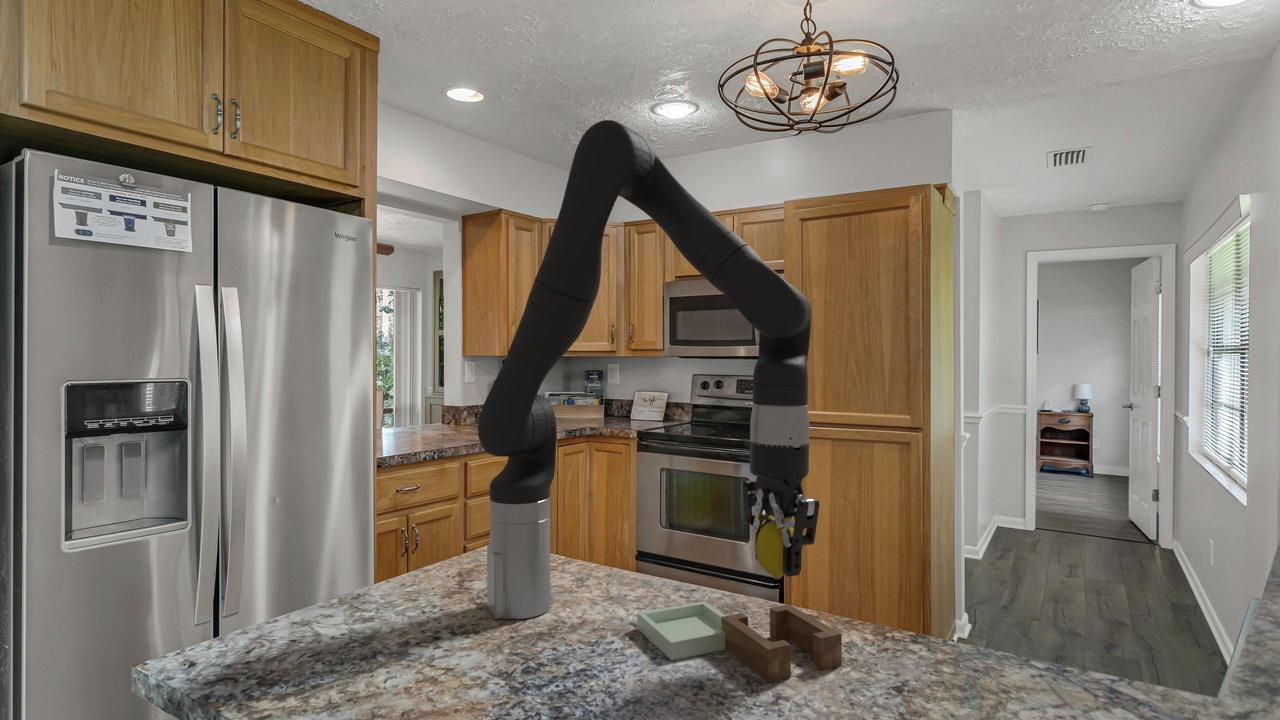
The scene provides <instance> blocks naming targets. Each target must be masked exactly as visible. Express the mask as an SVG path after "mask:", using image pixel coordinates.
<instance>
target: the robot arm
mask: <svg viewBox="0 0 1280 720" xmlns="http://www.w3.org/2000/svg"><path fill="white" fill-rule="evenodd" d="M567 179H568V180H567V183H566V188H565V191H564V194H563V199H562V202H561V206H560V209H559V213H558V216H557V218H556V221H555V223H554V227H553V230H552V233H551V235H550V238H549V240H548V244H547V247H546V250H545V252H544V255H543V259H542V261H541V264H540V266H539V268H538V271H537V273H536V276H535V278H534V281H533V284H532V286H531V289H530V292H529V295H528V297H527V301H526V304H525V307H524V311H523V313H522V316H521V319H520V321H519V323H518V326H517V329H516V331H515V334H514V337H513V339H512V341H511V344H510V347H509V349H508V353H507V355H506V357H505V359H504V361H503V363H502V365H501V368H500V370H499V372H498V374H497V377H495V381H494V382H493V384H492V387H491V388H490V390H489V392H488V394H487V396H486V397H485V400H484V402H483V405H482V407H481V410H480V412H479V416H478V422H477V435H478V440H479V443H480V445H481V447H482V448H483V450H484V451H485V452H486V453H488V454H489V455H491V456H494V457H500V458H501V457H502V458H503V457H504V458H505V457H507V458H508V459H507V461H506V464H505V465H504V468H503V469H502V470H501V471H500V472H499V473H498V474H497V475H496V476H495V477H493V479H492V480H491V481H490V484H489V544H488V545H487V547H486V588H487V589H486V598H487V599H486V601H487V602H486V603H487V604H486V605H487V608H488V609H489V611H490V613H491V615H492V617H493V619H495V620H500V619H507V620H508V619H509V620H521V619H529V618H530V619H531V618H534V617H537V616H540V615H543V614H545V613H547V611H549V610H550V609H551V596H552V592H551V486H552V483H553V481H554V477H555V473H556V460H557V459H556V458H557V433H558V431H557V429H558V428H557V418H556V414H555V411H554V408H553V406H552V404H551V403H550V401H549V400H548V399H547V398H546V397H544V396H543V395H540V394H538V393H539V391H540V388H541V386H542V384H543V382H544V381H545V378H546V377H547V376H548V375H549V373H550V371H551V370H552V369H553V368H554V367H555V365H556V364H557V363H558V362H559V360H561V358H562V357H564V355H565V354H566V353H567V352H568V351H569V350H570V348H572V346H573V344H574V343H575V342H577V340H578V338H579V337H580V336H581V334H582V332H583V330H584V328H585V327H586V324H587V323H588V321H589V320H588V319H589V317H590V314H591V312H592V309H593V307H594V304H595V302H596V299H597V297H598V293H599V290H600V284H601V276H602V254H603V253H602V252H603V251H602V250H603V240H604V234H605V230H606V226H607V223H608V221H609V218H610V216H611V213H612V211H613V209H614V206H615V203H616V201H617V199H618V198H619V197H620V198H622V199H625V200H626V201H628V202H629V203H630V204H632V205H633V206H635V207H636V208H638V209H640V210H641V211H642V212H643V213H645V214H646V215H647V216H648V217H650V218H651V219H652V220H653V221H654V222H655V223H656V224H657V225H658V226H659V227H660V228H661V229H662V230H663V231H664V233H665V234H666V235H667V237H668V238H669V239H670V241H671V242H672V244H674V246H675V248H676V249H677V251H678V252H679V253H680V254H681V255H682V256H683V258H685V260H686V261H687V262H688V263H689V264H690V265H691V266H692V267H693V268H694V269H695V270H696V271H697V272H698V273H700V274H701V275H702V277H704V278H705V279H706V280H707V282H709V283H710V284H711V285H712V286H713V287H714V288H715V289H717V290H718V291H719V292H720V293H721V294H723V295H724V296H726V298H727V299H728V300H729V301H730V303H732V305H733V306H734V307H735V308H736V310H738V312H739V313H740V314H741V315H742V316H743V317H744V319H745V320H746V321H748V323H749V324H750V325H751V326H753V328H755V329H756V330H757V331H758V334H759V335H758V358H757V361H756V364H755V366H754V370H753V377H752V378H753V379H752V383H753V384H752V409H751V415H750V429H749V430H750V433H749V435H750V436H749V438H750V439H749V471H750V473H751V474H752V475H753V476H755V477H756V479H752V480H749V479H748V480H743V482H742V494H743V508H744V519H745V520H744V521H745V524H746V525H748V526H751V527H752V531H753V533H754V534H755V540H754V541H755V542H754V543H755V544H754V545H755V547H754V550H755V551H754V552H755V559H756V561H758V559H757V554H756V544H757V538H758V535H759V532H760V530H761V528H762V527H763V526H764V525H765V524H767V523H768V522H770V521H774V520H776V524H777V527H778V528H779V529H780V530H781V532H782V537H783V541H784V545H785V546H783V574H784V575H783V576H786V577H795V576H796V577H797V576H800V574H801V571H802V556H803V554H802V552H803V551H802V549H803V547H804V546H807V545H814V544H815V539H816V533H817V526H818V517H819V511H820V501H819V499H818V498H816V497H815V498H809V497H808V496H806V495H805V492H804V490H803V484H802V481H803V480H804V478H805V477H807V476H808V475H809V470H810V468H809V465H810V463H809V461H810V459H809V458H810V418H809V416H810V415H809V407H808V406H809V405H808V404H809V403H808V398H809V397H808V394H809V389H808V388H809V375H808V374H809V373H808V357H809V351H810V342H811V341H810V340H811V330H812V308H811V305H810V301H809V300H808V299H807V298H806V296H805V295H804V294H803V293H802V292H801V291H800V290H798V289H797V288H795V287H794V286H793V285H792V284H791V283H790V282H788V281H787V280H785V279H784V277H782V276H781V275H780V274H778V273H777V272H776V271H775V270H774V269H772V268H771V267H770V266H769V265H767V264H766V263H765V262H764V261H763V260H762V259H761V257H760V256H759V255H758V253H757V252H756V251H755V250H754V249H753V247H751V246H750V245H749V244H748V243H747V242H745V240H744V239H742V238H741V237H740V236H739V235H738V234H737V233H736V232H734V230H733V229H732V228H730V227H729V226H728V225H727V224H726V223H724V222H723V221H722V220H721V219H719V218H718V217H717V216H716V215H715V214H714V213H713V212H711V211H710V209H708V208H707V207H705V206H704V205H703V204H702V203H701V202H700V201H699V200H697V199H696V198H695V197H694V196H693V195H692V194H691V193H690V192H689V191H688V190H687V189H686V188H685V187H684V186H683V185H682V184H681V183H680V182H679V181H678V179H676V177H675V176H674V175H673V174H672V173H671V171H670V170H669V168H667V166H666V165H665V163H664V162H663V161H662V160H661V158H660V157H659V155H657V153H656V151H655V150H654V149H653V147H652V146H651V145H650V144H649V142H648V140H647V139H646V138H645V137H644V136H643V135H641V134H640V133H638V132H637V131H634V130H633V129H631V128H629V127H628V126H627V125H624V124H623V123H621V122H618V121H616V120H611V119H605V120H603V119H602V120H600V121H597V122H595V123H594V124H592V125H591V126H590V127H589V128H588V129H586V131H585V132H584V134H583V135H582V137H581V138H580V140H579V142H578V143H577V147H576V149H575V152H574V155H573V160H572V163H571V167H570V170H569V175H568V178H567ZM753 507H754V510H753ZM788 519H789V520H788ZM790 519H793V520H790ZM791 527H792V528H793V529H794V532H793V537H791V533H790V528H791ZM804 530H805V531H806V532H805V534H804Z"/></svg>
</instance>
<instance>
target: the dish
mask: <svg viewBox="0 0 1280 720" xmlns="http://www.w3.org/2000/svg"><path fill="white" fill-rule="evenodd" d="M636 614H637V630H638V631H639V632H640V633H641V634H642V635H643V636H644V637H646V638H647V639H648V640H649V641H650V642H651V643H652V644H653V645H654V646H655V647H656V648H658V650H660V651H661V652H662V653H663V654H664V655H665V656H666V657H667V658H668V659H669V660H670V661H676V660H680V659H686V658H690V657H695V656H700V655H704V654H705V655H707V654H709V653H714V652H719V651H723V650H725V632H724V631H723V630H721V617H723V616H727V615H726V614H725V613H723V612H721V611H719V610H718V609H717V608H715V607H714V606H713V605H711V604H709V603H708V602H707V601H698V602H693V603H687V604H682V605H676V606H670V607H665V608H663V607H662V608H657V609H653V610H647V611H641V612H637V613H636ZM725 651H726V650H725Z"/></svg>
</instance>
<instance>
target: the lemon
mask: <svg viewBox="0 0 1280 720" xmlns="http://www.w3.org/2000/svg"><path fill="white" fill-rule="evenodd" d="M793 532H794V529H793V528H792V527H791V528H790V533H791V537H793ZM783 546H785V545H784V541H783V537H782V532H781V530H780V529H779V528H778V527H777V524H776V520H774V521H770V522H768V523H767V524H765V525H764V526H763V527H762V528H761V530H760V532H759V535H758V538H757V544H756V552H755V555H756V554H757V559H758V560H757V562H758V563H759V565H760V567H761V568H762V570H764V571H765V572H766V573H768V574H770V575H771V576H772V577H773V578H774V579H775V580H780V579H781V578H783V576H785V575H784V574H783Z"/></svg>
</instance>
